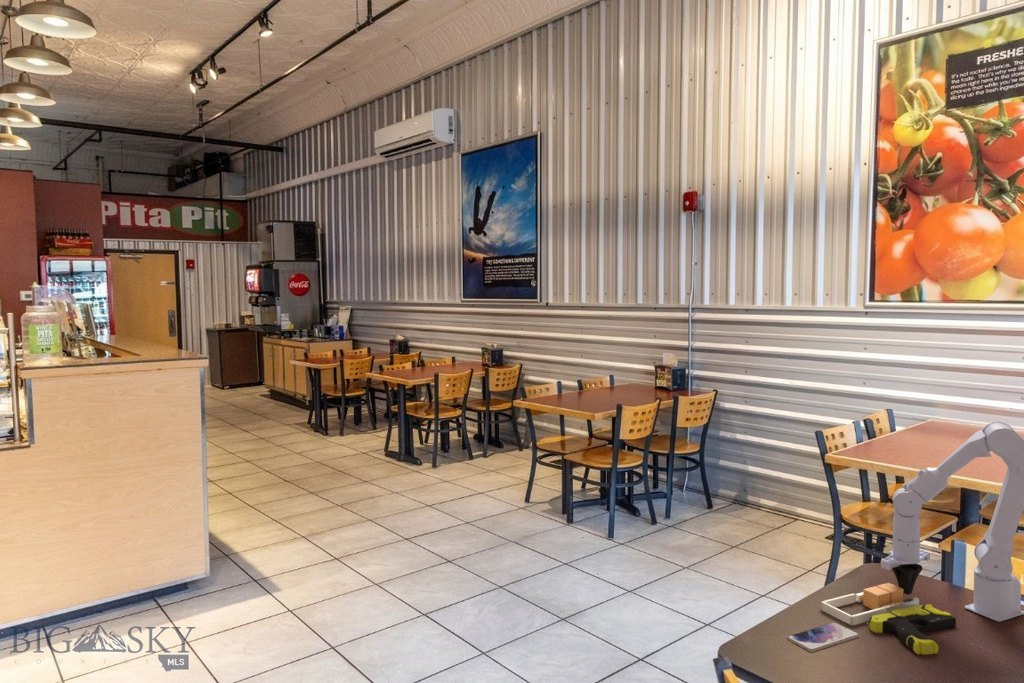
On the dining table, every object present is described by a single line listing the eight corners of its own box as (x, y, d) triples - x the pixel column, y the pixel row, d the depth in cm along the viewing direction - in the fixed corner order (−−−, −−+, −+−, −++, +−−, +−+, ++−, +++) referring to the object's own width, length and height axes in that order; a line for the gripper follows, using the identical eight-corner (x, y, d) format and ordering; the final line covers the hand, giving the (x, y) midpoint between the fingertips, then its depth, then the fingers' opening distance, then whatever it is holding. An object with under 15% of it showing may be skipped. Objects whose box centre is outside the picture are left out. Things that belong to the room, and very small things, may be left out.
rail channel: (887, 592, 170) (887, 585, 170) (919, 606, 162) (919, 598, 162) (855, 601, 166) (855, 594, 166) (886, 615, 158) (886, 608, 158)
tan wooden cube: (875, 602, 165) (875, 586, 165) (890, 608, 162) (890, 592, 161) (863, 605, 164) (863, 589, 164) (877, 612, 160) (878, 595, 160)
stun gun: (989, 631, 145) (927, 602, 159) (918, 646, 139) (861, 614, 154) (989, 644, 145) (927, 614, 159) (918, 659, 140) (861, 627, 154)
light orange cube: (888, 598, 167) (888, 582, 167) (903, 605, 163) (903, 588, 163) (876, 601, 166) (876, 585, 165) (891, 608, 162) (891, 592, 162)
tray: (853, 601, 166) (853, 593, 166) (885, 616, 158) (885, 607, 158) (820, 609, 162) (820, 601, 162) (852, 625, 154) (852, 617, 154)
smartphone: (785, 636, 149) (833, 621, 155) (785, 640, 149) (833, 625, 155) (811, 650, 143) (861, 634, 149) (811, 654, 143) (861, 638, 149)
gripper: (911, 529, 172) (911, 581, 173) (870, 538, 167) (870, 592, 167) (938, 537, 166) (938, 592, 166) (896, 547, 160) (896, 603, 161)
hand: (905, 592), depth 166 cm, fingers closed
